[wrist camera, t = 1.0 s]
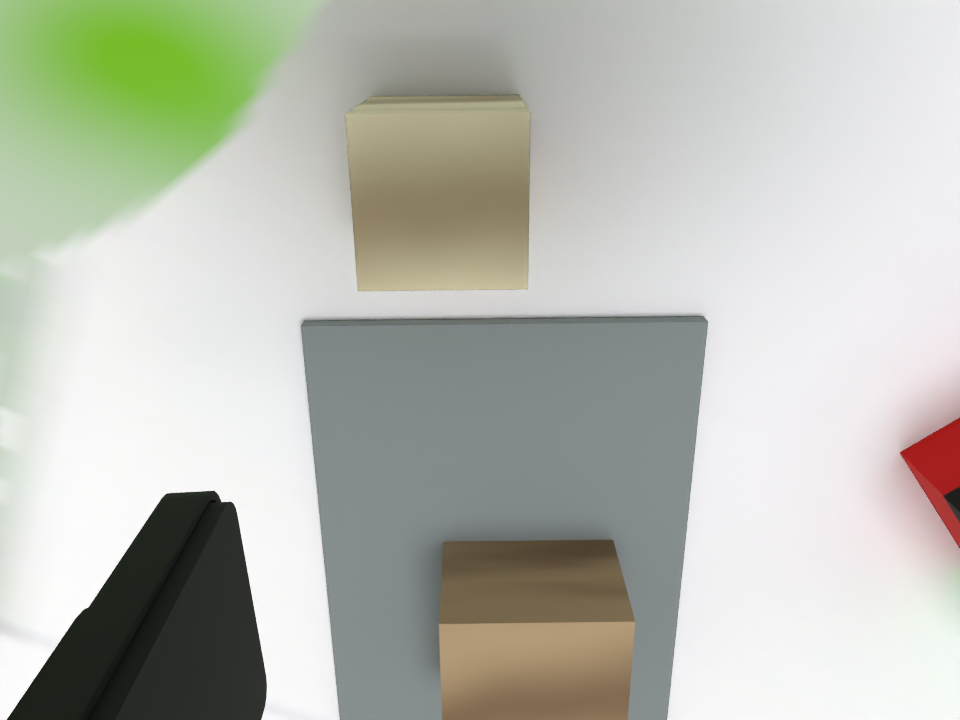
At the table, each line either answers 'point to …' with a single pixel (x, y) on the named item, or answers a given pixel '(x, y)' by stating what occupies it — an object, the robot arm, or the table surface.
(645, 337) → the mat
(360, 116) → the maple block
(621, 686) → the walnut block
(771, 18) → the table surface
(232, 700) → the robot arm
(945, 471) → the puzzle toy
